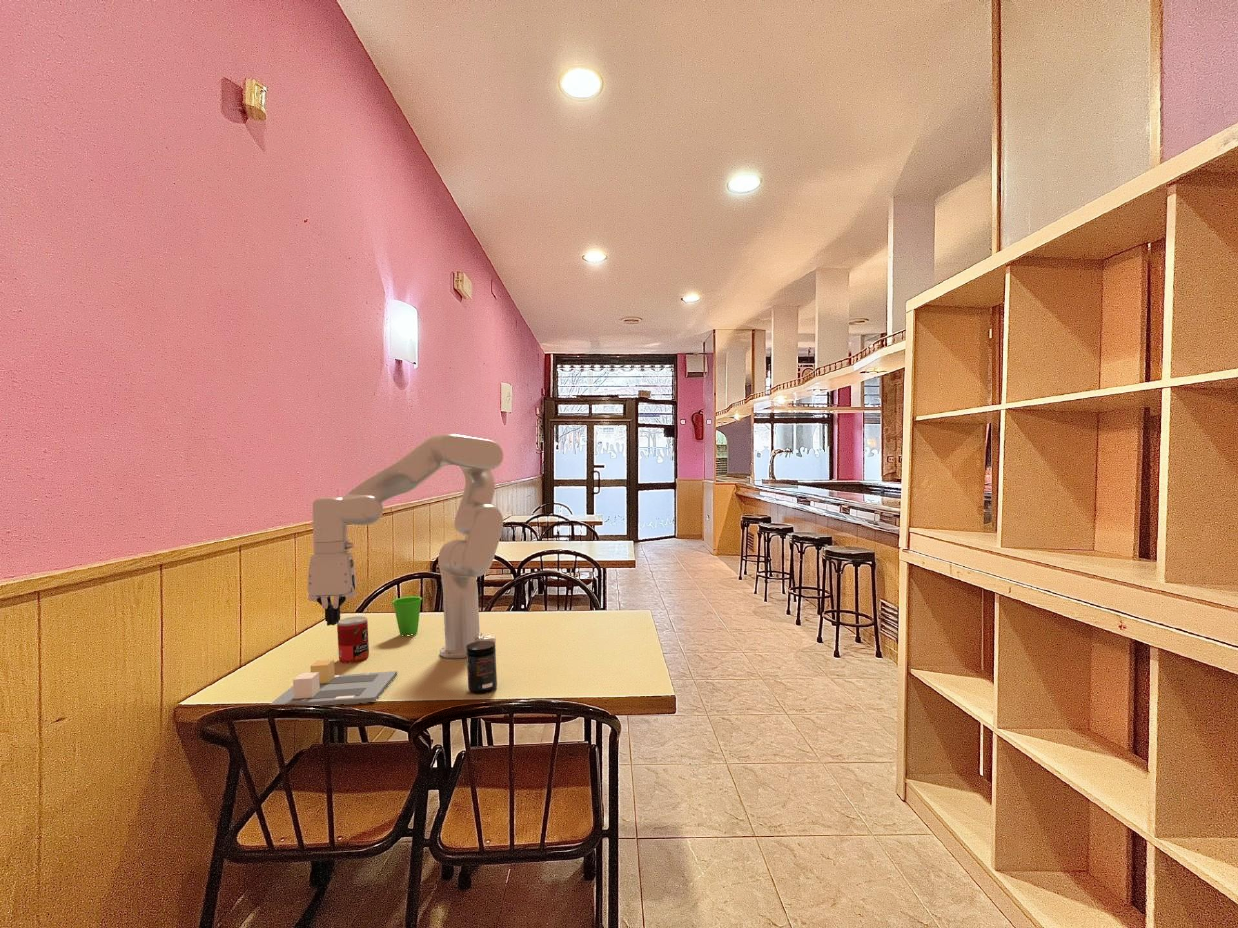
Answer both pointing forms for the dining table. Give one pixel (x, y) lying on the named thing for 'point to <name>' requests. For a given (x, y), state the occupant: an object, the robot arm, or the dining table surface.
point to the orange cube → (324, 670)
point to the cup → (407, 614)
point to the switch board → (344, 690)
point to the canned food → (353, 639)
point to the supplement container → (481, 667)
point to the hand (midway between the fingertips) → (332, 623)
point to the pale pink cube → (306, 685)
